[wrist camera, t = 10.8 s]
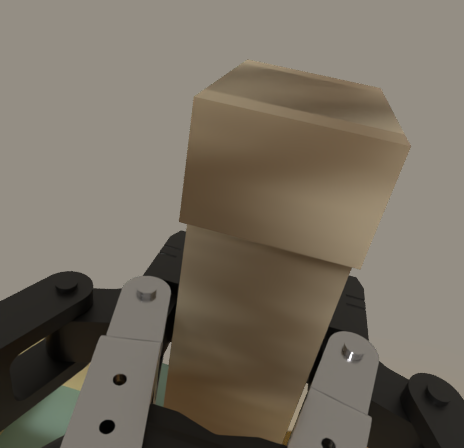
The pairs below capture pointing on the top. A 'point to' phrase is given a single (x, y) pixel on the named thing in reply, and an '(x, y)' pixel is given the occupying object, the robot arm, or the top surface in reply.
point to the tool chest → (55, 414)
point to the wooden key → (272, 237)
